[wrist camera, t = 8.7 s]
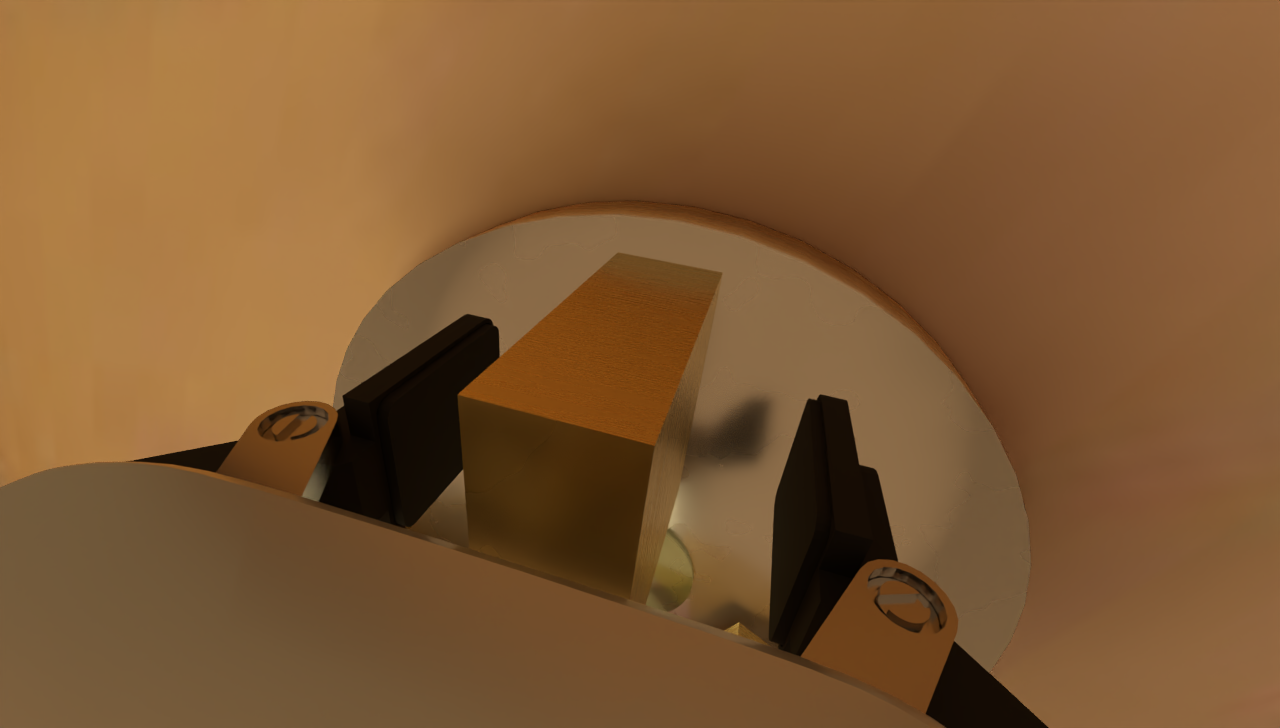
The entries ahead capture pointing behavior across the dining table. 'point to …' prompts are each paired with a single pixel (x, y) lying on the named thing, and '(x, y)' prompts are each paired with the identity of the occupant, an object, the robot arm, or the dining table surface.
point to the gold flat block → (590, 426)
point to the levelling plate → (751, 403)
